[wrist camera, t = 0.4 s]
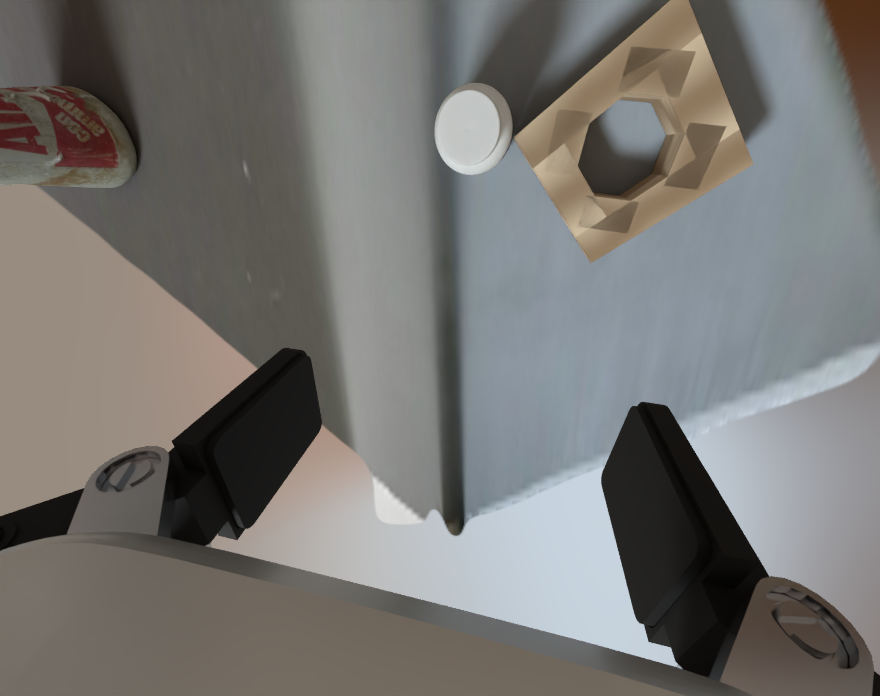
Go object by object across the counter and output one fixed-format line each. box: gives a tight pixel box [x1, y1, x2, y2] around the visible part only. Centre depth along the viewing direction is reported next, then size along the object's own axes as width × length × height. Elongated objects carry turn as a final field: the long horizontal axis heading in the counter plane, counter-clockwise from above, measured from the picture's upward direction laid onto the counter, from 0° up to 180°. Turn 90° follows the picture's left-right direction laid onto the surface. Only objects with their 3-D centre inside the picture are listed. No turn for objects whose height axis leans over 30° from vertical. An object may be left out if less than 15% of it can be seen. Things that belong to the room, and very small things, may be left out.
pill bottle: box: [435, 83, 513, 175], centre depth 25 cm, size 5×5×10 cm
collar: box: [514, 0, 753, 263], centre depth 26 cm, size 12×12×4 cm
